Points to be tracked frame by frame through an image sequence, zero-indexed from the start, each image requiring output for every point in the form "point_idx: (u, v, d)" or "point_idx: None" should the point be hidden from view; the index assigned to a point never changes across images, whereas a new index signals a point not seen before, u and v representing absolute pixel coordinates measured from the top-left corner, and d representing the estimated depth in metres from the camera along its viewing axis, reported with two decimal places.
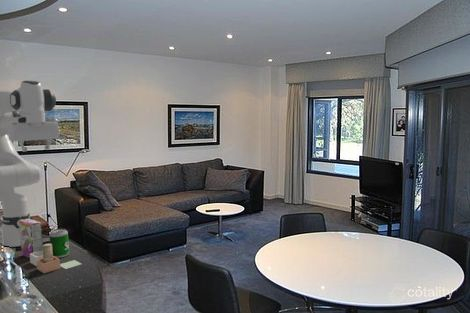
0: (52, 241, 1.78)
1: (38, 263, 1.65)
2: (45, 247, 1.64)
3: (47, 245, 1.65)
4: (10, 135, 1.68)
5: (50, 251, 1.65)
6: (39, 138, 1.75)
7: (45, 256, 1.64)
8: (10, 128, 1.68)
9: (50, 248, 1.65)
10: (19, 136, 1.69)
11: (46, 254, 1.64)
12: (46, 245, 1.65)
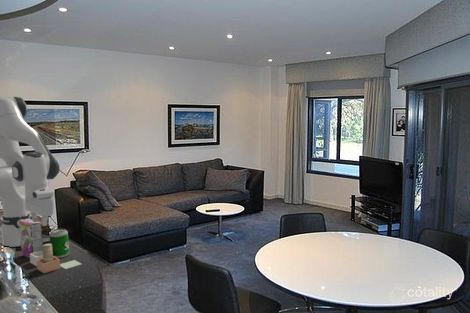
0: (52, 241, 1.78)
1: (38, 263, 1.65)
2: (45, 247, 1.64)
3: (47, 245, 1.65)
4: (49, 210, 1.63)
5: (50, 251, 1.65)
6: None
7: (45, 256, 1.64)
8: (47, 203, 1.62)
9: (50, 248, 1.65)
10: None
11: (46, 254, 1.64)
12: (46, 245, 1.65)
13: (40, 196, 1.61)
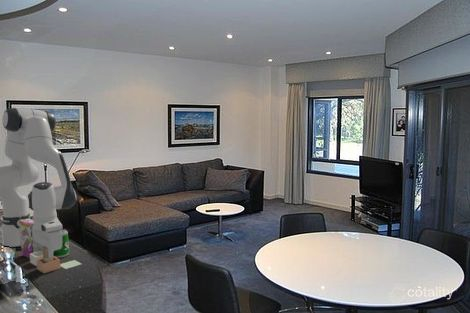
0: None
1: (38, 263, 1.65)
2: (45, 247, 1.64)
3: None
4: (58, 243, 1.59)
5: None
6: None
7: (45, 256, 1.64)
8: (56, 236, 1.58)
9: None
10: None
11: (46, 254, 1.64)
12: None
13: (49, 230, 1.57)
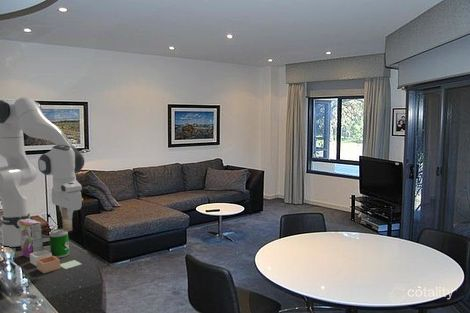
0: (52, 241, 1.78)
1: (38, 263, 1.65)
2: (64, 208, 1.67)
3: None
4: (78, 203, 1.61)
5: None
6: None
7: (64, 217, 1.67)
8: (75, 196, 1.61)
9: None
10: None
11: (66, 215, 1.67)
12: None
13: (69, 189, 1.60)
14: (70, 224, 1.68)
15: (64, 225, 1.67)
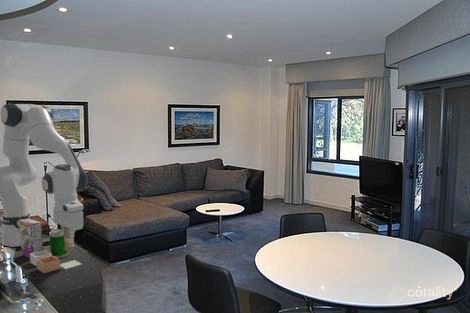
0: (52, 241, 1.78)
1: (38, 263, 1.65)
2: (66, 227, 1.68)
3: None
4: (80, 223, 1.62)
5: None
6: None
7: (66, 236, 1.68)
8: (77, 216, 1.62)
9: None
10: None
11: (67, 234, 1.68)
12: None
13: (71, 210, 1.61)
14: (72, 243, 1.69)
15: (66, 244, 1.68)
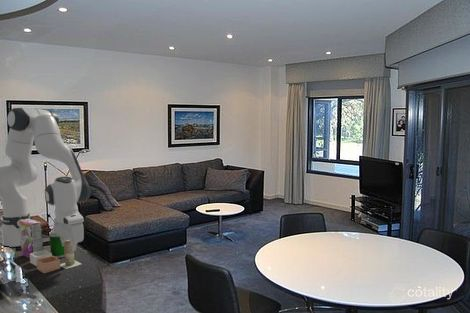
0: (52, 241, 1.78)
1: (38, 263, 1.65)
2: (67, 243, 1.69)
3: (68, 241, 1.70)
4: (80, 236, 1.63)
5: None
6: None
7: (67, 251, 1.69)
8: (78, 229, 1.63)
9: (71, 244, 1.70)
10: None
11: (68, 249, 1.69)
12: (67, 241, 1.70)
13: (71, 222, 1.61)
14: (72, 258, 1.70)
15: (66, 259, 1.69)
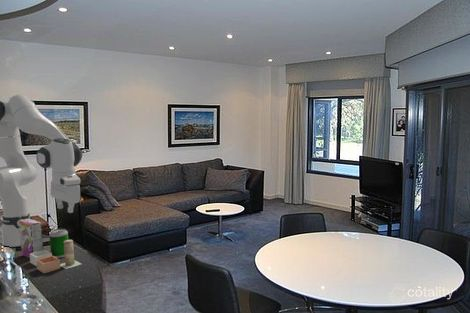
0: (52, 241, 1.78)
1: (38, 263, 1.65)
2: (66, 243, 1.68)
3: (68, 241, 1.70)
4: (76, 197, 1.63)
5: (71, 247, 1.69)
6: None
7: (66, 252, 1.69)
8: (74, 190, 1.62)
9: (71, 244, 1.69)
10: None
11: (68, 250, 1.69)
12: (67, 241, 1.70)
13: (68, 183, 1.61)
14: (72, 258, 1.70)
15: (66, 259, 1.69)
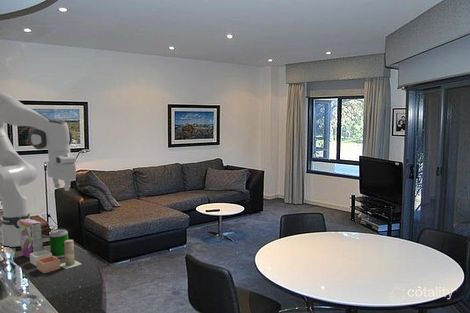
0: (52, 241, 1.78)
1: (38, 263, 1.65)
2: (67, 243, 1.68)
3: (69, 241, 1.70)
4: (72, 174, 1.69)
5: (72, 247, 1.70)
6: None
7: (67, 252, 1.69)
8: (70, 168, 1.69)
9: (72, 244, 1.69)
10: None
11: (68, 250, 1.69)
12: (68, 241, 1.70)
13: (64, 161, 1.68)
14: (72, 258, 1.70)
15: (66, 259, 1.69)
